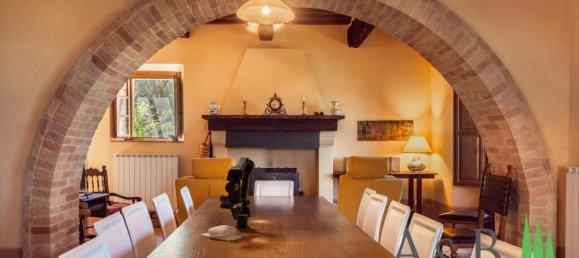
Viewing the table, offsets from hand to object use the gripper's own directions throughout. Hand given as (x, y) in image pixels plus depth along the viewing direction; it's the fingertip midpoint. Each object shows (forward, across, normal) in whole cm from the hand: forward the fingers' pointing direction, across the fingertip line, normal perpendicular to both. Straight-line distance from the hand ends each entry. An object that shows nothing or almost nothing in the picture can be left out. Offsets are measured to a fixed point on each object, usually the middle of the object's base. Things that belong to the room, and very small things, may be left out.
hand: (235, 219), depth 240 cm
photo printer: (+4, +5, 0) cm, 7 cm away
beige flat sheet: (+7, +11, 0) cm, 13 cm away
